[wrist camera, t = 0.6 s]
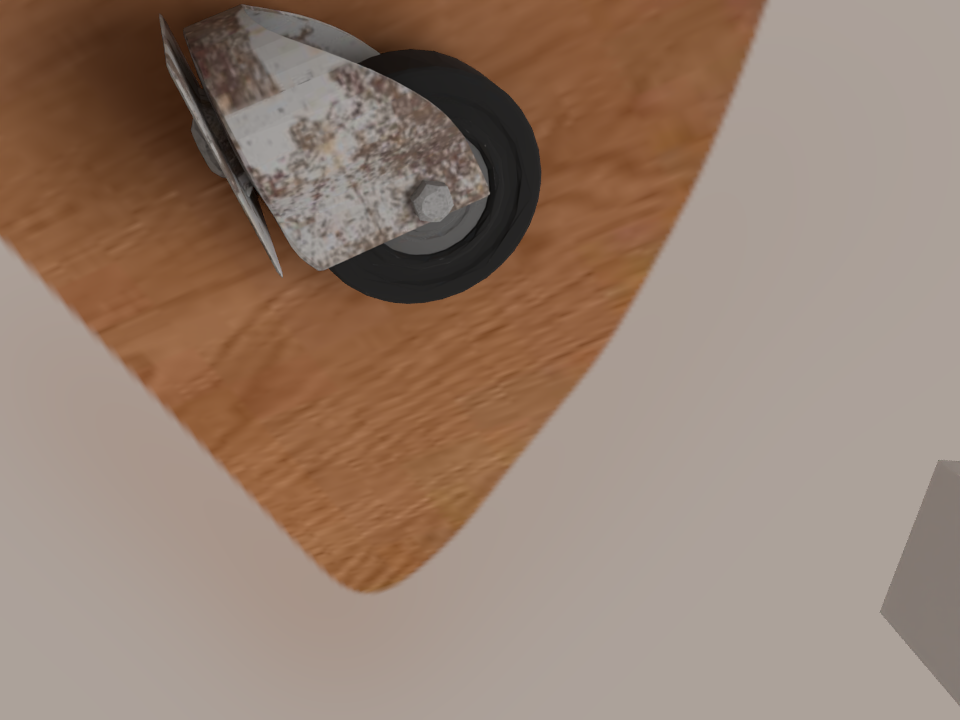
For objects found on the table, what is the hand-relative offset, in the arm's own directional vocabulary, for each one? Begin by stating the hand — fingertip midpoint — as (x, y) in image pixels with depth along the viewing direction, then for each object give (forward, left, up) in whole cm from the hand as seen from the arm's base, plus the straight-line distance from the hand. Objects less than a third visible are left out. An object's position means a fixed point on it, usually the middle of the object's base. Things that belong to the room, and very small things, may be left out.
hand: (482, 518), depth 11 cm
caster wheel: (-1, -1, -21) cm, 21 cm away
